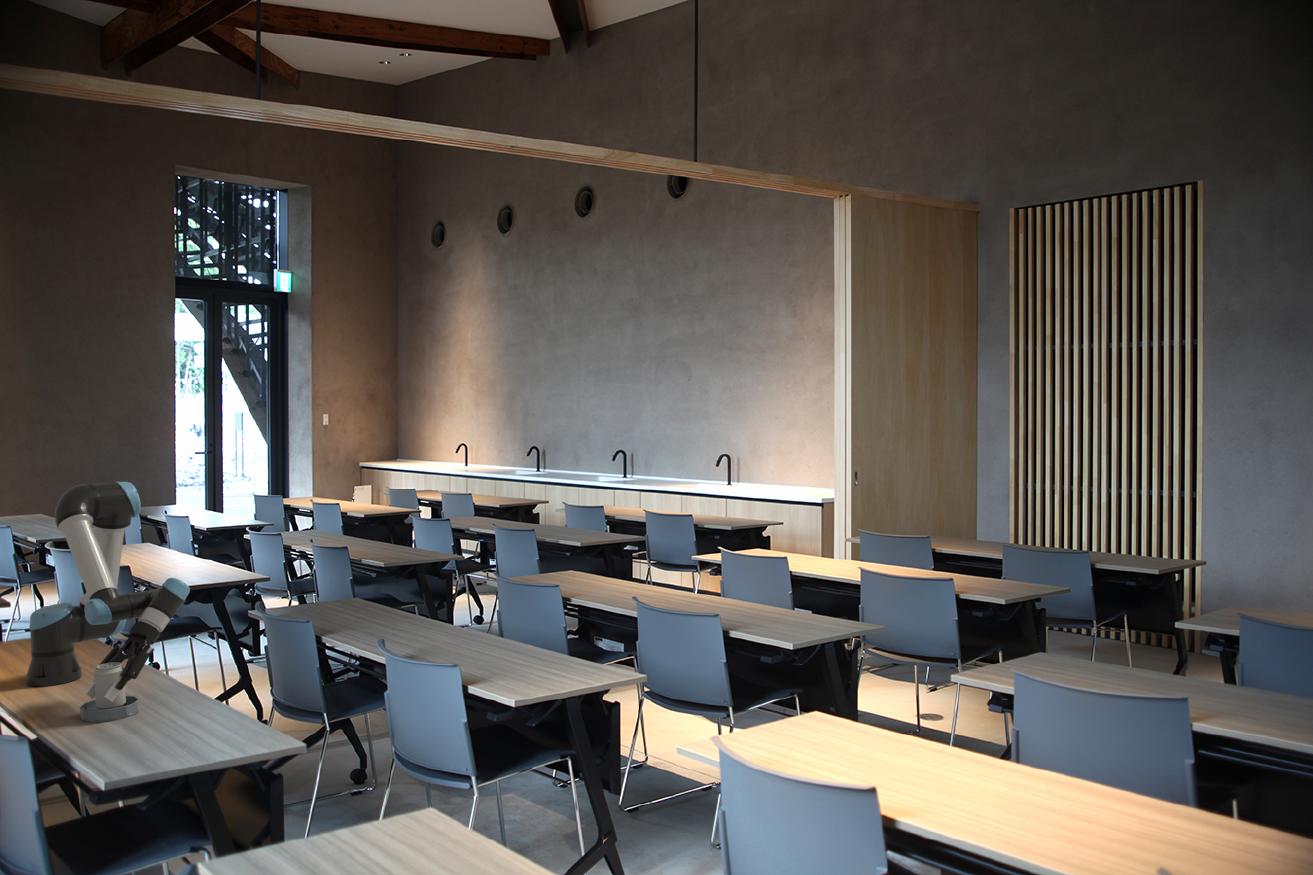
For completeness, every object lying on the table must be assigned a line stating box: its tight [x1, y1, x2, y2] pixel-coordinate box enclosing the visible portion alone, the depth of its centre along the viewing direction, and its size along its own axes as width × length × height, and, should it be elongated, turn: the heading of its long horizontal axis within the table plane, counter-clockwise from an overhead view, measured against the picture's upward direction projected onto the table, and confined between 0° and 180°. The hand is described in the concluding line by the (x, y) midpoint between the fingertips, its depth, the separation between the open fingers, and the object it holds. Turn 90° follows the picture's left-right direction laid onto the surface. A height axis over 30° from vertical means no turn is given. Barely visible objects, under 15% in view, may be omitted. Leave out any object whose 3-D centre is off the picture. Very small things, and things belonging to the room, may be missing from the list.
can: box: [93, 662, 127, 710], centre depth 276 cm, size 8×8×12 cm
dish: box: [79, 694, 142, 723], centre depth 276 cm, size 14×14×3 cm
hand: (98, 697), depth 273 cm, fingers closed on can, 7 cm apart
